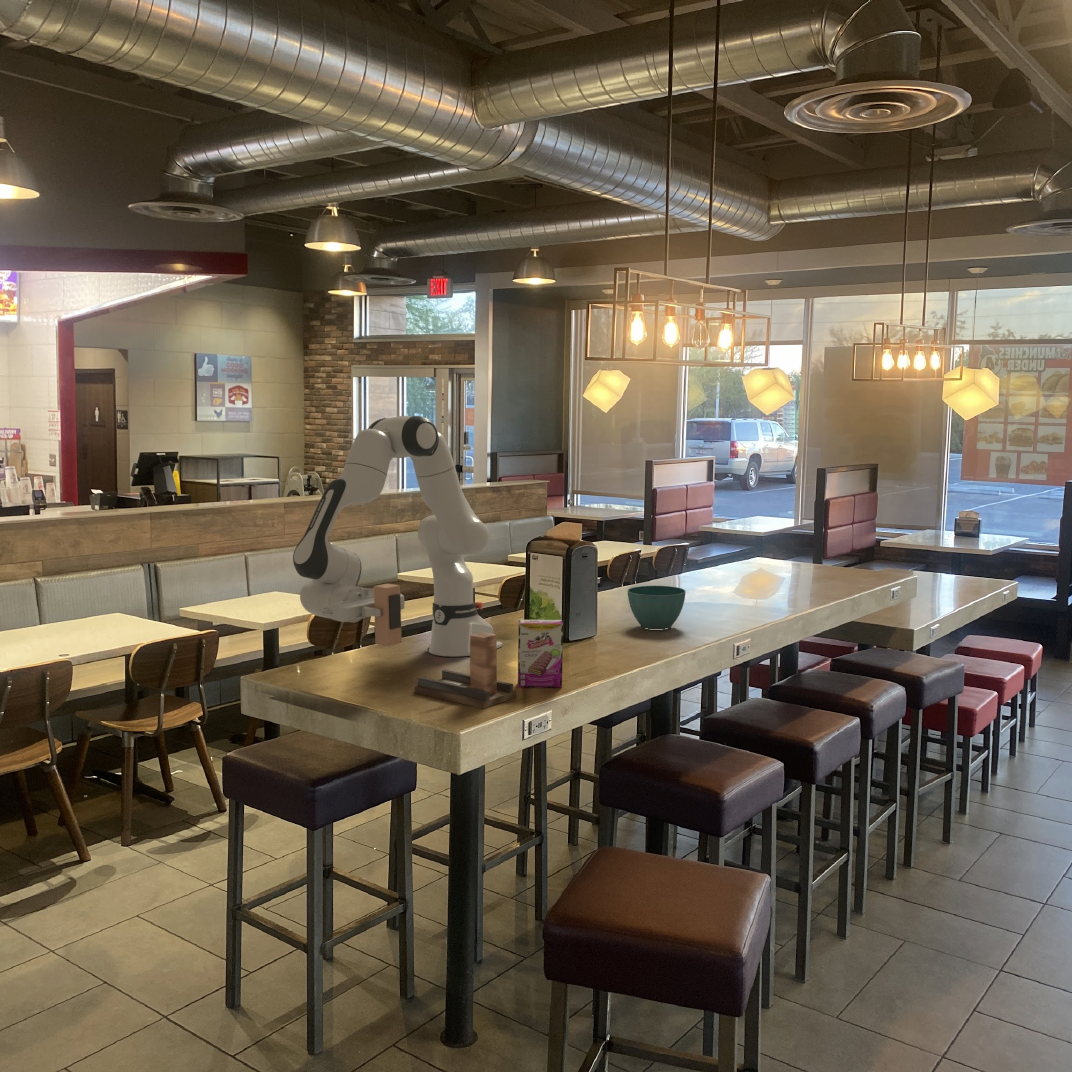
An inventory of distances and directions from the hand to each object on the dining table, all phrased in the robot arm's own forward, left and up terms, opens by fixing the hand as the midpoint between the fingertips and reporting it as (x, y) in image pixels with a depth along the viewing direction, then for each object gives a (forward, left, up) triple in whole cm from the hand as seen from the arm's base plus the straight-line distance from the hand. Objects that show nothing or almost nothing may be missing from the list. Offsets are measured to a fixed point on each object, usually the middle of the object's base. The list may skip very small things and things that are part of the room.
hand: (390, 610), depth 243 cm
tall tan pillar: (0, -1, -8) cm, 8 cm away
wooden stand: (-11, +14, -21) cm, 27 cm away
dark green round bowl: (-107, +9, -21) cm, 109 cm away
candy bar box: (-29, +23, -21) cm, 42 cm away
